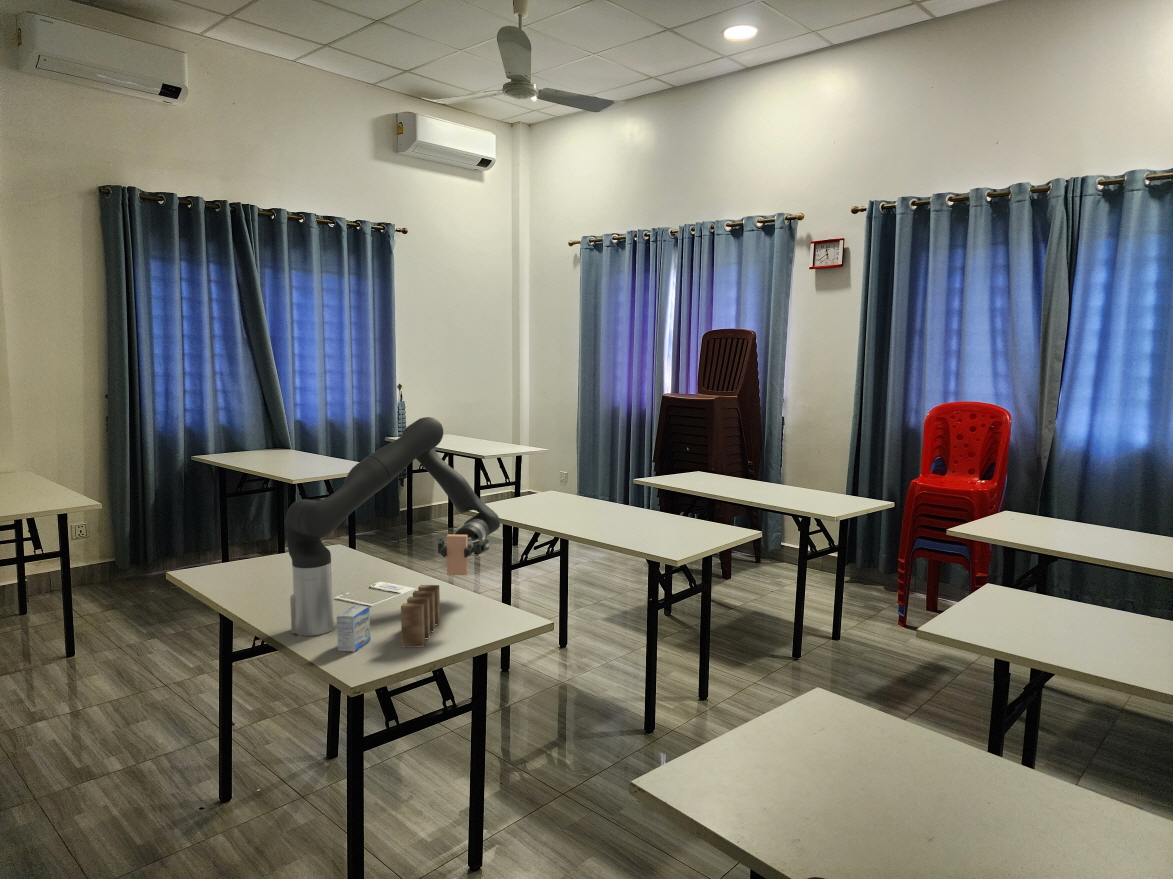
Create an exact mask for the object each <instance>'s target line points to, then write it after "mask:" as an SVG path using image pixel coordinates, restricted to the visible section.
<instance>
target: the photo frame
mask: <svg viewBox="0 0 1173 879" xmlns="http://www.w3.org/2000/svg"><path fill="white" fill-rule="evenodd" d="M374 584H376V585H375V586H374V587H375V588H380V589H384V590H388V591H393V592H398V593H401V594H396V595H393V596H391V597H388V598H386V599H385V598H384V599H383V600H380V601H377V602H375V603H372V604H371V603H368V602H362V601H358V600H353V599H349V598H345V597H342V598H341V597H340V596H343V594H340V595H337V596H335V597H334V599H335V598H338V599H343V600H347V601H352V602H357V603H361V604H365V605H369V606H374V605H376V604H379V603H381V602H384V601H387V600H389V601H391V600H390V599H392V598H394V597H397V596H399V595H402V594H405V593H407V592H410V591H413V590H415V589H417V588H415V587H410V586H406V585H399V584H395V583H389V582H385V581H378V582H374ZM370 585H371V586H372V584H370ZM372 587H373V586H372ZM413 592H414V591H413ZM345 594H349V592H346V593H345ZM405 595H406V594H405ZM397 598H398V597H397ZM392 600H393V599H392ZM387 602H388V601H387ZM384 603H385V602H384ZM381 604H382V603H381ZM379 605H380V604H379ZM369 606H368V607H369ZM376 606H377V605H376ZM374 607H375V606H374Z"/></svg>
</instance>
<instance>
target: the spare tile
mask: <svg viewBox="0 0 1173 879" xmlns="http://www.w3.org/2000/svg"><path fill="white" fill-rule="evenodd" d="M454 534H455V533H454ZM454 534H450V533H449V534H447V535H446V539H445V540H446V541H445V542H446V546H447V556H446V575H447V576H467V575H468V574H469V556H468V557H464V549H465V548H466V547H467V546H468V535H454Z"/></svg>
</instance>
